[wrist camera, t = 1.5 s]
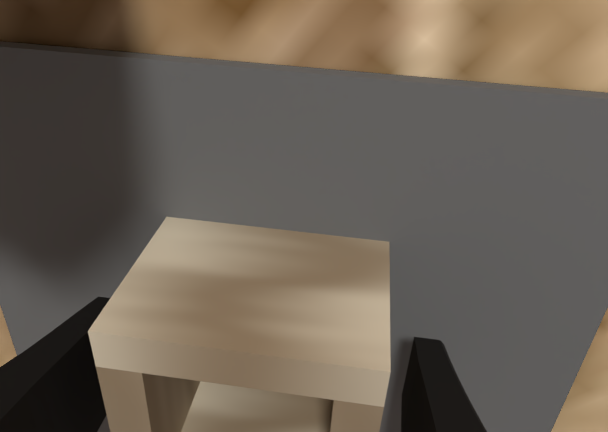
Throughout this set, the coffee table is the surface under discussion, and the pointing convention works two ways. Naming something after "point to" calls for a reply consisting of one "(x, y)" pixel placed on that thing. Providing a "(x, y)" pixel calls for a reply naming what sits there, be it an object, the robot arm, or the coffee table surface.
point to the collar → (247, 332)
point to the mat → (320, 199)
